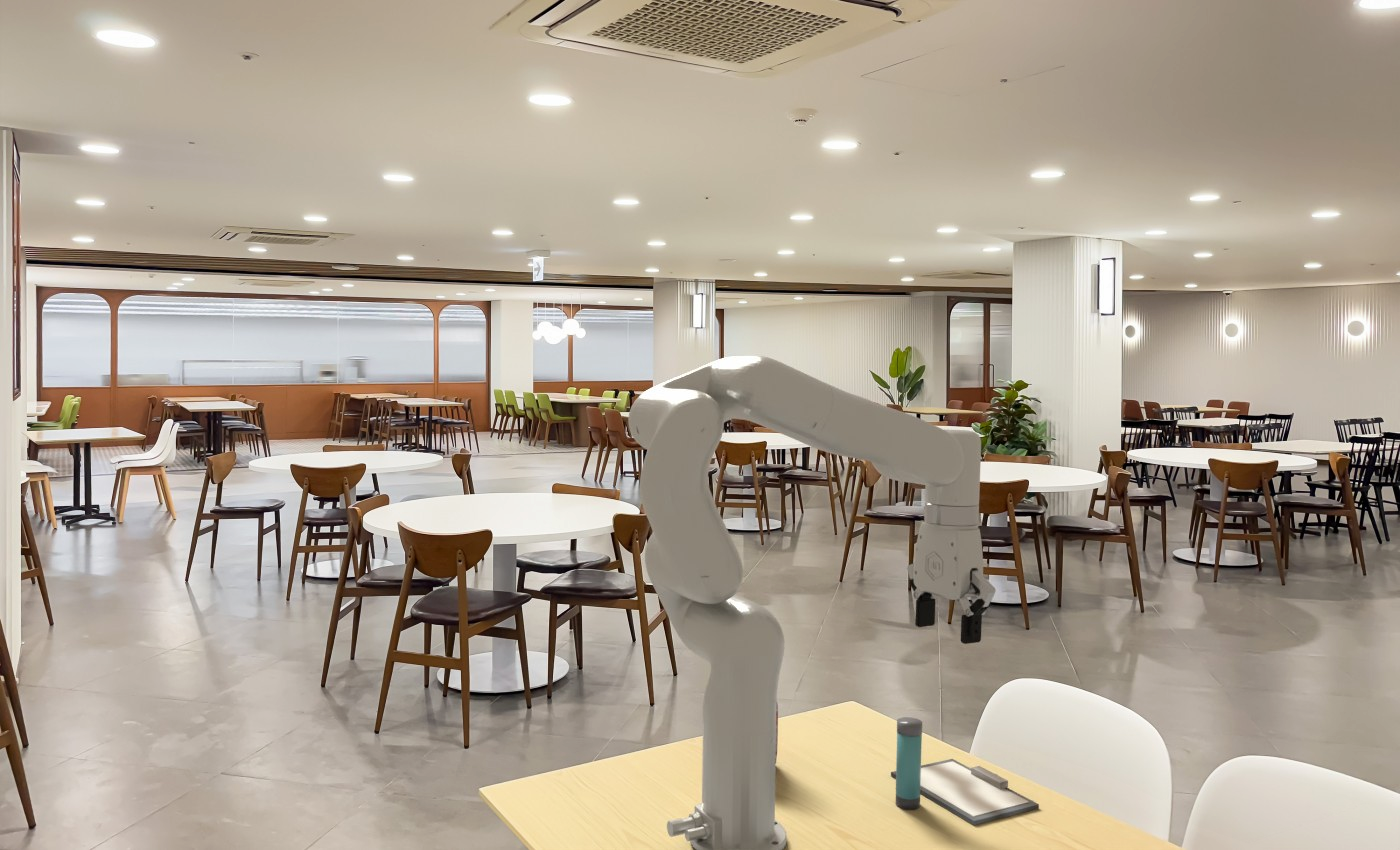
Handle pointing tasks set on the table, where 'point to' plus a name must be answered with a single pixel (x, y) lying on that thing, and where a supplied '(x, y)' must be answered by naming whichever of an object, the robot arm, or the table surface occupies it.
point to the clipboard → (971, 792)
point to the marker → (908, 763)
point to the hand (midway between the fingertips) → (947, 633)
